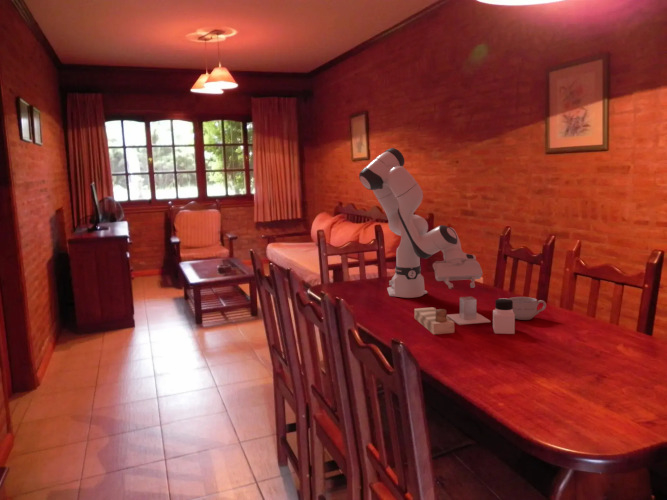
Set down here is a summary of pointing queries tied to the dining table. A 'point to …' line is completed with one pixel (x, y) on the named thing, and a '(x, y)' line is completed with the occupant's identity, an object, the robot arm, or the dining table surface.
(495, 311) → the medicine bottle
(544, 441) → the dining table surface
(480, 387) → the dining table surface
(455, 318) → the off-white pad
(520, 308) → the teacup
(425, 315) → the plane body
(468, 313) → the gray rectangular block
